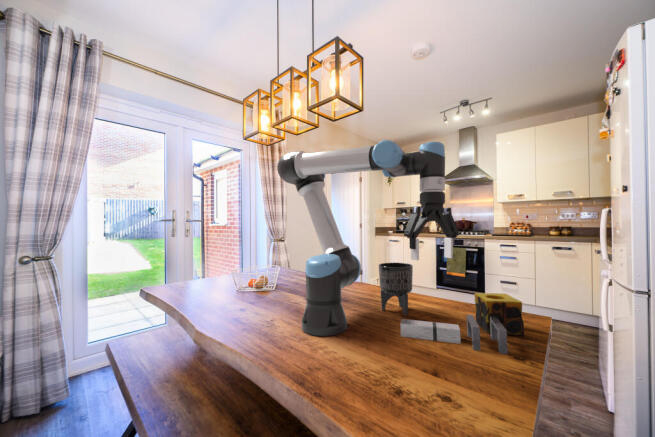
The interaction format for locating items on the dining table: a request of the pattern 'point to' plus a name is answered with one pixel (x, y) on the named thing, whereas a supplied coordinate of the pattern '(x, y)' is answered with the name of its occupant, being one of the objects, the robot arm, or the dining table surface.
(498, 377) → the dining table surface
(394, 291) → the planter
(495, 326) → the collar
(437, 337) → the banded white block
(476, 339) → the collar
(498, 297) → the candle
